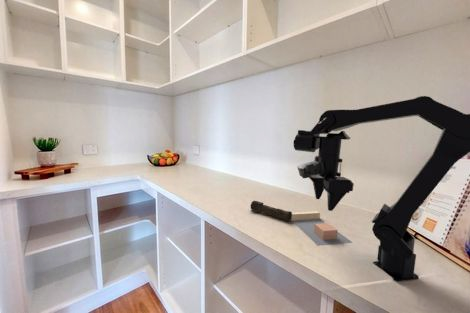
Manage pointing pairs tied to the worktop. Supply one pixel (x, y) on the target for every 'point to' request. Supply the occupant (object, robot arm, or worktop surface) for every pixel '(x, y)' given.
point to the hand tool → (271, 211)
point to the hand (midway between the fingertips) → (323, 204)
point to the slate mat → (307, 226)
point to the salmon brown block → (325, 231)
